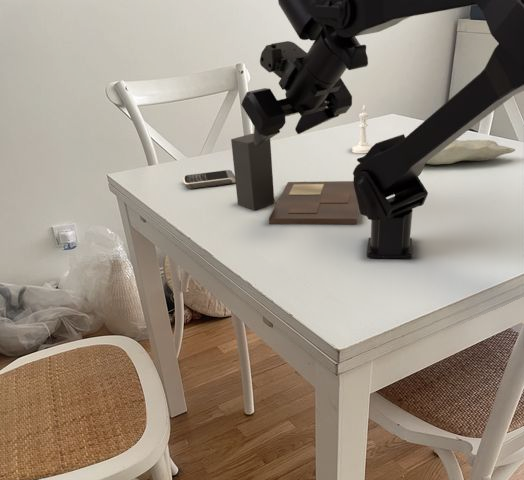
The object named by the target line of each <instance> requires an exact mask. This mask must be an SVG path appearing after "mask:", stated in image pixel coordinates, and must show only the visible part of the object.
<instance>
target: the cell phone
mask: <svg viewBox="0 0 524 480" xmlns="http://www.w3.org/2000/svg"><path fill="white" fill-rule="evenodd" d="M182 181H183V182H182V183H183V185H184V186H185V188H186V189H187V190H188V189H189V190H191V189H192V190H193V189H200V188H208V187H214V186H224V185H230V184H231V185H232V184H236V182H235V173H234V172H233V171H232V170H231V169H226V170H217V171H211V172H210V171H209V172H201V173H192V174H187V175H184V176H183V178H182Z"/></svg>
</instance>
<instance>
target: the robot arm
mask: <svg viewBox="0 0 524 480" xmlns="http://www.w3.org/2000/svg"><path fill="white" fill-rule="evenodd" d="M277 3H278V6H279V7H280V9H281V10H282V13H284V15H285V17H286V18H287V20H288V22H289V24H290V25H291V27H292V28H293V30H294V31H295V33H296V35H297V37H298V38H299V39H300V40H302V41H307V40H309V41H310V42H311V41H312V42H313V43H312V45H311V46H310V48H309V50H308V51H307V52H306V51H305V50H304V49H303V48H302V47H300V46H299V45H297V44H296V43H295V42H293V41H289V40H287V41H280V42H274V43H271V44H267V45H265V46H264V48H263V50H262V51H261V53H260V56H259V57H260V58H259V64H260V66H261V67H262V68H263V69H264V70H265V71H267V72H268V73H273V74H275V75H276V76H277V77H278V78H279V80H278V86H279V87H280V89H281V90H283V91H285V93H284V95H285V98H281V99H278V98H276V96H275V94H274V92H273V91H272V90H271V88H269V87H268V88H266V87H264V88H259V89H254V90H249V91H246V93H245V95H244V97H243V98H242V101H241V105H240V106H242V108H243V110H244V112H245V114H246V116H247V118H249V120H250V122H251V123H252V125H253V127H254V129H253V134H254V138H253V141H254V143H255V145H256V146H259V145H260V144H262V143H264V142H265V141H267V140H269V139H270V140H271V139H272V138H273V137H275V136H277V135H278V134H280V133H281V129H283V128H284V126H285V125H286V117H290V116H293V115H297V114H299V115H300V118H299V119H298V122H297V124H296V126H295V132H296V134H297V135H300V134H302V133H305V132H307V131H309V130H311V129H313V128H315V127H318V126H319V125H322V124H324V123H327V122H329V121H331V120H333V119H335V118H338V117H340V115H343V114H347V112H348V111H349V110H350V108H351V107H352V106H353V95H352V94H351V92H350V90H349V89H348V87H347V86H346V84H345V82H344V81H343V79H342V78H341V77H342V76H343V75H344V73H345V71H346V70H348V71H352V70H357V69H362V68H367V67H368V65H369V57H368V54H367V45H366V44H360V42H359V40H358V38H357V37H358V36H359V37H360V36H363V35H370V34H375V33H379V32H382V31H384V30H387V29H390V28H392V27H394V26H396V25H398V24H400V23H401V22H403V21H404V20H406V19H409V18H412V17H417V16H422V15H428V14H434V13H438V12H444V11H449V10H457V9H460V8H468V7H473V6H477V7H478V8H479V9H480V10H481V12H482V13H483V16H484V19H485V21H486V24H487V27H488V30H489V32H490V35H491V36H492V37H493V39H494V40H495V41H496V42H497V43H498V44H497V45H496V47H494V49H493V51H492V53H491V54H490V56H489V58H488V61H487V63H486V64H485V66H484V68H483V69H482V71H481V72H480V73H479V74H477V75H476V76H475V77H474V78H473V79H472V80H471V81H469V82H468V83H467V84H466V85H465V86H464V87H462V88H461V89H460V90H459V91H458V92H457V93H455V94H454V95H453V96H452V97H451V98H449V100H448V101H446V102H445V103H444V104H442V106H440V107H439V108H438V109H437V110H435V111H434V112H433V113H432V114H431V115H430V116H428V117H427V118H426V119H425V120H423V122H422V123H420V125H418V126H417V127H416V128H414V130H412V131H411V132H410V133H409V134H408V135H407V136H406V135H405V134H404V133H403V134H399V135H396V136H394V137H391V138H388V139H384V140H381V141H378V142H376V143H375V144H374V145H371V146H372V147H371V149H370V150H369V151H368V153H365V155H363V156H361V157H358V158H356V161H357V163H358V164H356V165H355V167H354V169H353V171H352V175H353V181H354V189H355V193H356V197H357V201H358V205H359V213H360V215H361V216H366V217H367V220H369V221H370V237H368V240H367V248H366V249H367V250H366V258H371V259H374V258H375V259H412V258H413V255H414V254H413V238H412V237H411V232H412V221H413V210H414V209H416V208H418V207H421V206H423V205H424V204H425V202H426V200H427V197H428V195H429V191H428V190H427V189H426V187H425V186H424V184H423V183H422V181H421V179H420V178H419V176H420V175H421V174H422V172H423V169H424V168H425V166H426V162H427V161H428V160H430V159H431V158H432V157H434V156H435V155H436V154H438V153H439V152H440V151H441V150H443V149H444V148H445V147H447V146H448V145H449V144H451V143H452V142H453V141H455V140H458V138H460V137H462V136H463V135H464V134H465V133H467V132H468V131H470V129H472V128H473V127H475V126H476V125H477V124H479V123H480V122H481V121H482V120H484V119H485V118H486V117H488V116H489V115H491V114H492V113H493V112H494V111H496V109H498V108H500V106H502V105H503V104H505V103H506V102H507V101H508V100H510V99H511V98H513V97H514V96H516V95H518V94H520V93H522V92H524V0H277Z"/></svg>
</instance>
